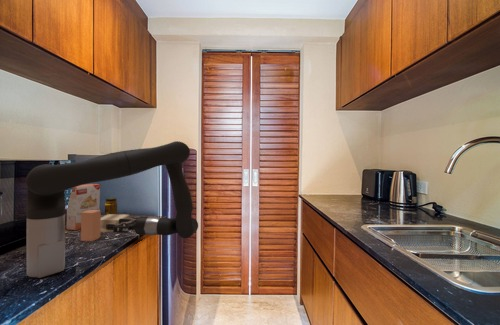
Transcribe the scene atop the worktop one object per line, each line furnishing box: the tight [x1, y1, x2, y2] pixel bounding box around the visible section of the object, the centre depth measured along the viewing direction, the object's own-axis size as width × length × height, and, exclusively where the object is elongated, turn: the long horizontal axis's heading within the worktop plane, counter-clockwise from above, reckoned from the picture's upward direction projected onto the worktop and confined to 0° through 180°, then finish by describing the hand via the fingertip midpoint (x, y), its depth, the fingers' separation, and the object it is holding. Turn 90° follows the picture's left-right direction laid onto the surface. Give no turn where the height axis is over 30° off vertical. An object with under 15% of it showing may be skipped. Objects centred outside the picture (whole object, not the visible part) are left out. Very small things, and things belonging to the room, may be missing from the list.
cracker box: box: [65, 183, 101, 231], centre depth 122 cm, size 14×6×21 cm, turn 168°
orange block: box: [80, 209, 102, 242], centre depth 104 cm, size 5×5×12 cm
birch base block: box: [101, 213, 131, 233], centre depth 120 cm, size 11×11×6 cm
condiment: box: [104, 197, 118, 216], centre depth 135 cm, size 7×8×12 cm
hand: (113, 223), depth 104 cm, fingers open, 8 cm apart
